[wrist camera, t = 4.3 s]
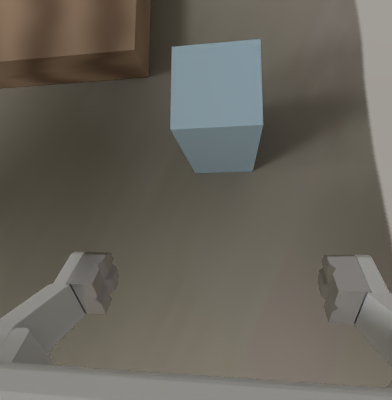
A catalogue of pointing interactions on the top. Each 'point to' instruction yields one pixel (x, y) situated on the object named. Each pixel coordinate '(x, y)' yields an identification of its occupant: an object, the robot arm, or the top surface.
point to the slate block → (217, 104)
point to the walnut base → (73, 41)
